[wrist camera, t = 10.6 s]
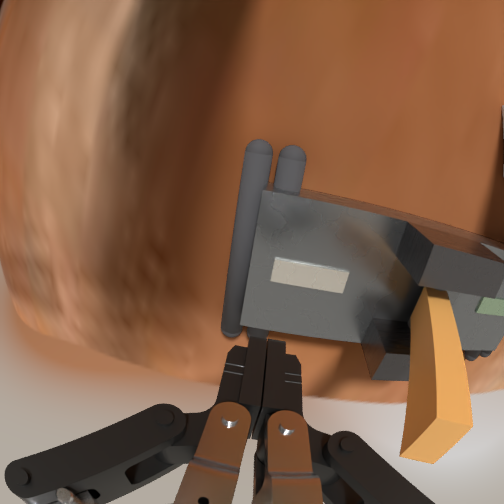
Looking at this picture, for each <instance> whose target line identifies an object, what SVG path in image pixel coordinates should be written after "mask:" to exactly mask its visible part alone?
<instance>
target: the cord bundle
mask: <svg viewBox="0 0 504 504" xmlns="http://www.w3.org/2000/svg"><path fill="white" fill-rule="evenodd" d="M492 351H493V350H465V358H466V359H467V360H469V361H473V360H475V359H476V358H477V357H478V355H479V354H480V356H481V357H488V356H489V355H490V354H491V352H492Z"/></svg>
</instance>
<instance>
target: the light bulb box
mask: <svg viewBox="0 0 504 504" xmlns="http://www.w3.org/2000/svg"><path fill="white" fill-rule="evenodd" d="M502 116H503V137H504V105H502ZM503 177H504V166H503Z"/></svg>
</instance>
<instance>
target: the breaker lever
mask: <svg viewBox="0 0 504 504" xmlns="http://www.w3.org/2000/svg"><path fill="white" fill-rule="evenodd" d="M407 324H408V327H409V328H410V329H411V342H410V370H409V386H408V397H407V408H406V416H405V424H404V431H403V438H402V444H401V450H400V457H404V458H408V459H412V460H416V461H421V462H426V463H431V464H434V463H435V462H436V461H437V460H438V459H439V458H441V457H442V456H443V455H444V454H445V453H446V452H447V451H448V450H449V449H450V448H452V447H453V446H454V445H455V444H456V443H457V442H458V441H459V440H460V439H461V438H462V437H463V436H464V435H465V434H466V433H467V432H468V431H469V430H470V429H471V428H472V427H473V420H472V410H471V401H470V393H469V386H468V379H467V373H466V367H465V362H464V357H463V352H462V347H461V342H460V338H459V334H458V329H457V325H456V321H455V318H454V314H453V310H452V307H451V303H450V300H449V296H448V293H447V291H445V290H441V289H435V288H430V287H424V288H423V290H422V292H421V295H420V297H419V299H418V301H417V304H416V306H415V308H414V310H413V312H412V314H411V316H410V319H409V321H408V323H407Z"/></svg>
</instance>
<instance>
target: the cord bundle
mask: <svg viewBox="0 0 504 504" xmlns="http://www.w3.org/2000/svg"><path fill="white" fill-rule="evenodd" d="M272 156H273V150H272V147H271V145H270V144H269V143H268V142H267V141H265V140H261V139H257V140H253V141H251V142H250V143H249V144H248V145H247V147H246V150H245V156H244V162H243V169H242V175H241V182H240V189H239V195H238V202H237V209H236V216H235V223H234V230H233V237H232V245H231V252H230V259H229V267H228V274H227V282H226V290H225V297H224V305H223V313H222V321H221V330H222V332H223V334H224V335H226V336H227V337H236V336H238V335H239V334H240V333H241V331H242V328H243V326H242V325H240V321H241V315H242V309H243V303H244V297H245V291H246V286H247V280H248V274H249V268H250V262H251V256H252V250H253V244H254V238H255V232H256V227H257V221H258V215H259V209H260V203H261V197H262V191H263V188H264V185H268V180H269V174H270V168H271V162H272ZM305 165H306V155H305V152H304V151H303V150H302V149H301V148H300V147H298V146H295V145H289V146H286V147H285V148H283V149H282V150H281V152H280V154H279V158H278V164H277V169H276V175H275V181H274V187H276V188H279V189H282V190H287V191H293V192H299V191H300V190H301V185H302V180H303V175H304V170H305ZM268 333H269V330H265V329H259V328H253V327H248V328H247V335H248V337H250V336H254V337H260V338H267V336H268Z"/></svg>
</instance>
